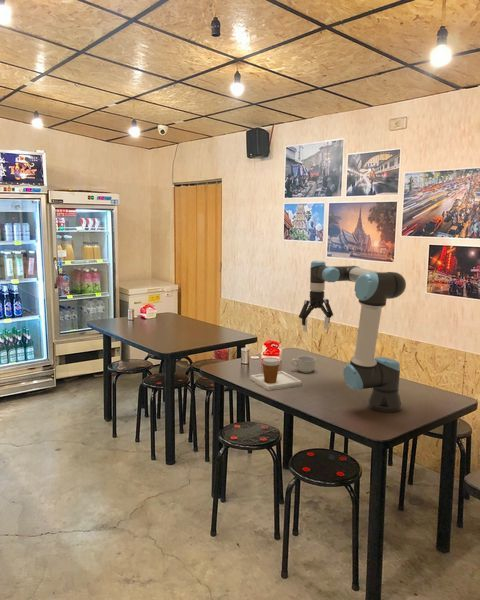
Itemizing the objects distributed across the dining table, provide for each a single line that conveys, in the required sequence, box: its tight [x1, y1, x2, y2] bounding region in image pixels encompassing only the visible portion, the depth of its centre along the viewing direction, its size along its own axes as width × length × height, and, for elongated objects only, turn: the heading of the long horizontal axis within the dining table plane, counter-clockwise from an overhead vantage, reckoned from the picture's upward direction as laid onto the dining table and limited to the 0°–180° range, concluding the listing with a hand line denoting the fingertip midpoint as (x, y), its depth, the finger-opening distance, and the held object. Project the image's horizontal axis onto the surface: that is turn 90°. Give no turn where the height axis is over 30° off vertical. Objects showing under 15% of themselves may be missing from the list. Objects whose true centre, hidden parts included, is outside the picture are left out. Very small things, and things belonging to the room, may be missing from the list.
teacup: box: [290, 355, 317, 374], centre depth 292 cm, size 14×11×8 cm
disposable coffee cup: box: [261, 357, 281, 383], centre depth 269 cm, size 10×10×12 cm
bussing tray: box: [250, 370, 303, 392], centre depth 271 cm, size 20×20×2 cm
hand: (315, 330), depth 268 cm, fingers open, 13 cm apart
